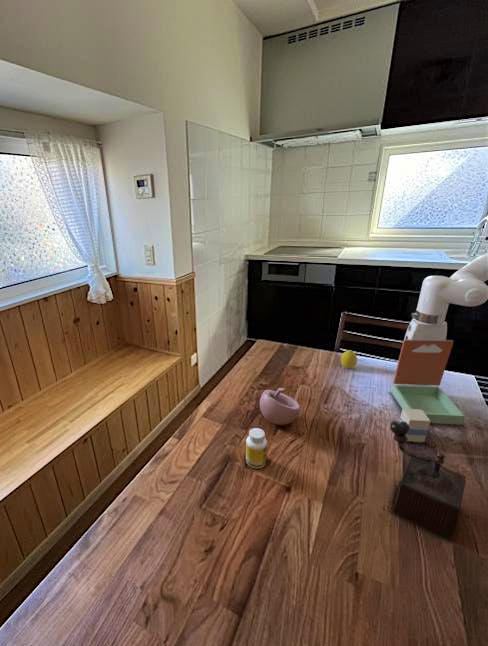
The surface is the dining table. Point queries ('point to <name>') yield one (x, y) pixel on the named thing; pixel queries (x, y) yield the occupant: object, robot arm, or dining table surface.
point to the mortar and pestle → (278, 407)
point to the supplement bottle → (256, 448)
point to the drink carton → (415, 424)
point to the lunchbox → (428, 403)
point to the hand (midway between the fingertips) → (416, 368)
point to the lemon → (348, 359)
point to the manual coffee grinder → (427, 489)
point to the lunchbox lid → (422, 363)
